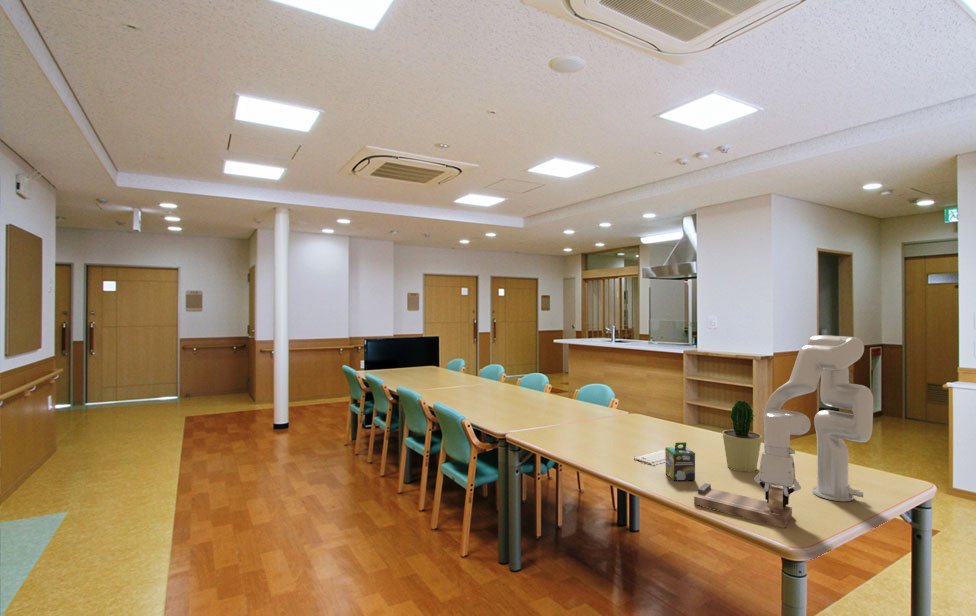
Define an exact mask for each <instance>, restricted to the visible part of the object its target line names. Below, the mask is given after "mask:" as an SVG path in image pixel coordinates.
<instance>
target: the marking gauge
mask: <svg viewBox="0 0 976 616" xmlns="http://www.w3.org/2000/svg"><path fill="white" fill-rule="evenodd" d="M783 495H784V490H783V486H780V485H775V484H771V485H770V488H769V507H770V508H769V509H770V510H771V513H773V510H774V508H777V509H781V510H782V509H783V508H784V507H783Z"/></svg>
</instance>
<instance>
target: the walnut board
mask: <svg viewBox="0 0 976 616" xmlns="http://www.w3.org/2000/svg"><path fill="white" fill-rule="evenodd" d="M711 485H712V484H711V483H706V482H704V483H703V484H702V485H701V486H700V487H698V488H697V494H696V493H695V495H694V496H693V502H694V503H693V505H694V504H696V505H695V506H697V505H700V506H699V507H701V506H704V507H708V508H711V509H710V510H712V509H715V510H714V511H716V510H719V511H718V512H720V511H722V512H721V513H724V512H726V513H725V514H728V513H729V514H728V515H731V514H733V515H732V516H735V515H736V517H739V516H740V517H739V518H743V517H744V519H747V518H748V520H752V521H755V522H760V523H763V524H766V525H767V524H768V525H770V526H775V527H778V528H781V529H785V528H786V527H787V525H788V524H789V522H790V520H791V519H792V517H793V507H792V506H788V505H786V507H785V508H783V509H782V510H781V509H777V508H774V510H773V513H771V510H770V509H769V508H770V507H769V504H768V503H767V500H762V499H757V498H754V497H749V496H744V495H741V494H737V493H731V492H728V491H724V490H720V489H715V488H712V487H711ZM704 507H703V508H704ZM708 508H707V509H708Z"/></svg>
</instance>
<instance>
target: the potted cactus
mask: <svg viewBox="0 0 976 616" xmlns="http://www.w3.org/2000/svg"><path fill="white" fill-rule="evenodd" d="M749 403H750V402H748V401H745V400H737V401H736V402H735V403H734V404H733V406H732V407H731V408H732V409H730V410H729V411H730V412H731V413H730V412H729V415H730V416H729V418H730V420H731V422H732V424H731V426H732V429H727V430H725V429H724V430H723V431H722V438H723V445H724V452H725V458H726V465H727V468H729V467H730V468H729V469H731V468H732V469H731V470H733V469H735V470H734V471H737V470H738V471H737V472H742V471H747V472H746V473H751V472H750V471H753V472H756V471H757V468H758V461H759V456H760V451H761V450H760V449H761V445H762V444H761V443H762V437H763V436H762V435H761V434H760V433H758V432H755V431H754V432H753V431H751V430H750V428H752V429H753V427H751V423H752V422H754V421H755V419H754V417H756V415H755V414H754V410H753V409H752V408H753V407H752V406H751V404H749ZM755 470H756V471H755Z"/></svg>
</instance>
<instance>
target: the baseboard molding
mask: <svg viewBox="0 0 976 616" xmlns="http://www.w3.org/2000/svg"><path fill="white" fill-rule="evenodd" d="M634 459H636V460H635V461H637V460H639V461H638V462H640V461H642V462H641V463H643V462H645V463H644V464H646V463H648V464H647V465H649V464H651V465H650V466H652V465H654V466H656V465H655V464H657V465H659V464H658V463H661V462H664V463H666V462H665V449H660V450H657V451H655V452H649V453H646V454H643V455H639V456H634V457H633V460H634ZM661 464H662V463H661Z"/></svg>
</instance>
